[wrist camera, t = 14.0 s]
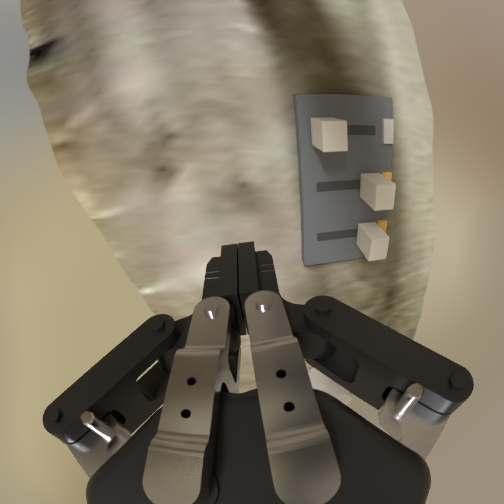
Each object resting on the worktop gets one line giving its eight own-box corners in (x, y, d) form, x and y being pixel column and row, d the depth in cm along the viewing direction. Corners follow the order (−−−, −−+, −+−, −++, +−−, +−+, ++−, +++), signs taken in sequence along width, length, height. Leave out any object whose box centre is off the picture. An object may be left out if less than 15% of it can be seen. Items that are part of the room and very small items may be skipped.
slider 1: (310, 117, 31) (321, 121, 26) (332, 117, 30) (346, 121, 26) (312, 144, 32) (323, 152, 28) (333, 143, 32) (347, 151, 28)
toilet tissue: (349, 370, 65) (358, 400, 57) (312, 388, 69) (318, 417, 61) (332, 356, 61) (342, 389, 52) (292, 376, 64) (297, 409, 56)
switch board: (292, 94, 31) (296, 94, 29) (385, 97, 31) (394, 98, 28) (301, 258, 45) (305, 267, 43) (377, 249, 44) (383, 256, 42)
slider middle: (360, 173, 35) (376, 184, 30) (379, 172, 35) (396, 183, 30) (359, 196, 37) (374, 210, 32) (377, 195, 37) (393, 209, 32)
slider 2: (358, 223, 39) (371, 239, 35) (375, 221, 39) (389, 237, 35) (356, 243, 41) (368, 261, 37) (372, 241, 41) (385, 258, 37)
